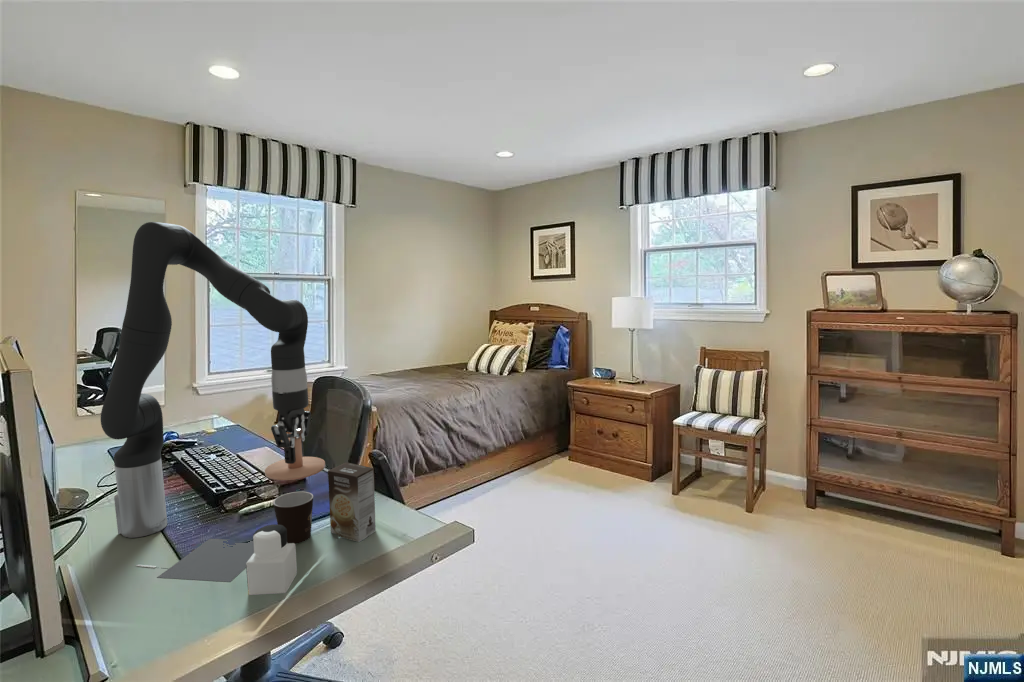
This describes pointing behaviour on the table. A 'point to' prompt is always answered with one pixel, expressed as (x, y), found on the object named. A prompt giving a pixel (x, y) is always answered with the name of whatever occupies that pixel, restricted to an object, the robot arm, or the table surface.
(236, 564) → the mat
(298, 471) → the terracotta lid
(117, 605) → the table surface
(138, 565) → the white screwdriver
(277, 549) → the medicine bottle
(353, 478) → the coffee box
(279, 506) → the coffee mug
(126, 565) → the table surface
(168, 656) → the table surface
